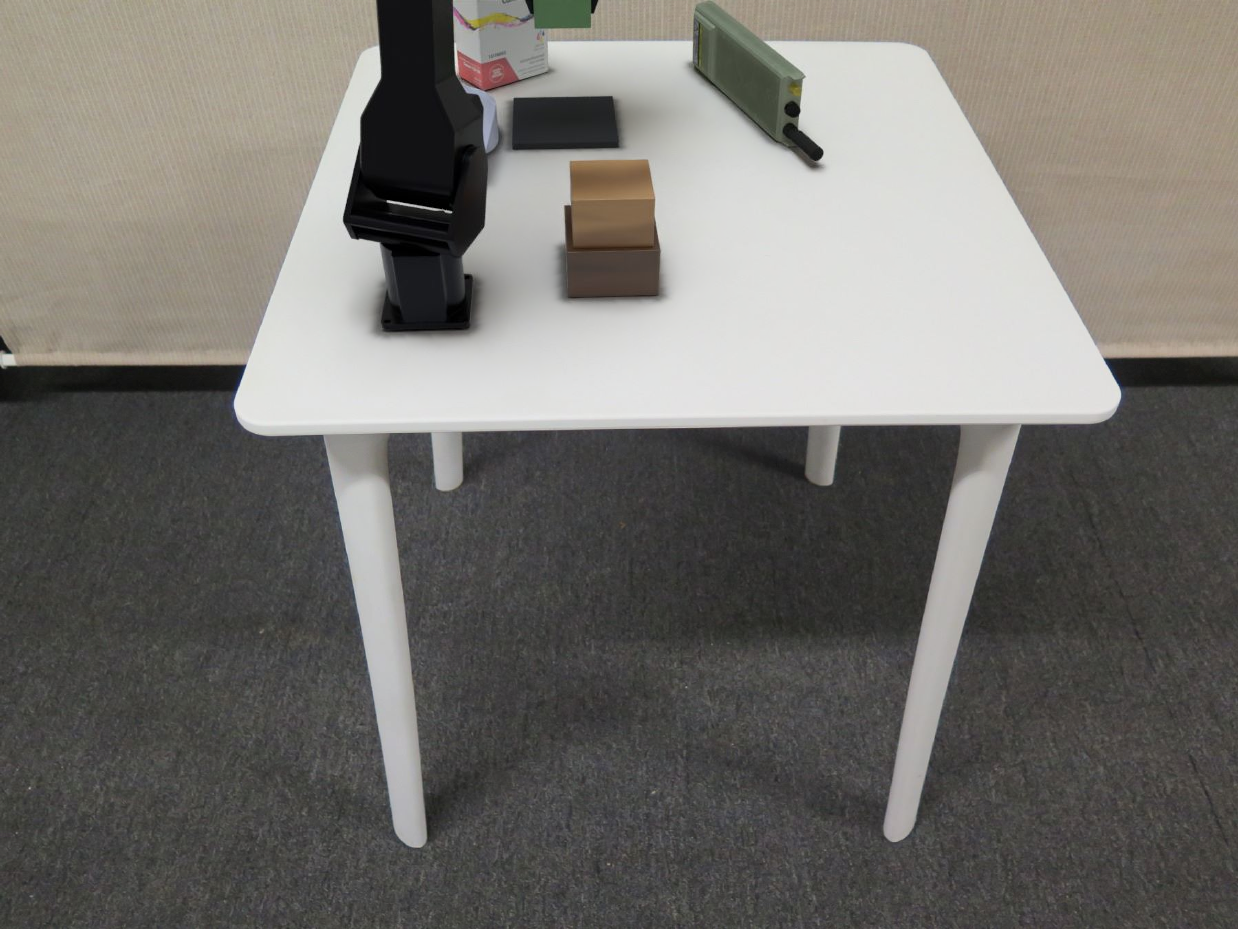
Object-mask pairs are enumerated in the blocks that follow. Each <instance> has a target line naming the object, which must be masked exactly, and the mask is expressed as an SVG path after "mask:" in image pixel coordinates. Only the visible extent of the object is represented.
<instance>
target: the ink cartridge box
mask: <svg viewBox="0 0 1238 929" xmlns="http://www.w3.org/2000/svg"><path fill="white" fill-rule="evenodd" d="M453 19H454V37H455V46H456V47H455V48H456V57H457V67H458V76H459V77H460V78H462V79H464V80H466V81H468V82H469V83H471V84H472V85H474V86H475V87H477V88H478V89H480V90H482V91H487V90H490V89H493V88H494V89H495V88H497V87H500V86H504V85H508V84H510V83H511V84H512V83H513V82H517V81H521V80H525V79H527V78H531V77H535V76H538V75H541V74H544V73H547V72H549V45H548V44H549V43H548V29H535V26H534V15H531V14H530V12H529V10H528V7H527V4H526V2H525V0H453Z"/></svg>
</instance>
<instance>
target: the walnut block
mask: <svg viewBox="0 0 1238 929" xmlns="http://www.w3.org/2000/svg"><path fill="white" fill-rule="evenodd" d="M563 206H564V207H563V211H564V212H563V214H564V243H565V244H564V246H565V263H566V264H565V268H566V269H565V271H566V289H567V297H568V298H592V297H598V298H599V297H632V296H633V297H635V296H658V295H659V293H660V292H659V291H660V273H661V271H660V270H661V246H660V239H659V234H658V228H657V223H656V222H657V221H656V218H655V219H654V244H653V247H613V248H573V239H572V221H571V204H565V205H563Z"/></svg>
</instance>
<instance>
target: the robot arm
mask: <svg viewBox="0 0 1238 929" xmlns="http://www.w3.org/2000/svg"><path fill="white" fill-rule="evenodd" d="M525 2H526V4H527V7H528V10H529V12H530V14H531V15H534V4H533V0H525ZM598 4H599V0H591V15H594V14H595V11H596V9H597V6H598ZM375 7H376V19H377V21H376V22H377V35H378V37H377V38H378V47H379V48H378V49H379V62H380V64H379V65H380V79H379V81H378V83H377V84H376V86H375V88H374V90H373V92H372V94H371V96H370V97H369V99H368V101H367V103H366V105H365V107H364V109H363V111H362V112H361V114H360V118H359V145H358V148H357V152H356V157H355V160H354V166H353V171H352V174H351V179H350V183H349V184H350V185H349V188H348V193H347V197H346V201H345V206H344V212H343V215H342V223H343V226H344V227H345V229H346V231H347V233H348V235H349V238H350V239H352V240H355V241H356V240H357V241H359V240H363V241H369V242H375V243H379V249H380V254H381V261H382V265H383V271H384V277H385V283H386V291H385V295H384V296H385V297H384V301H383V307H382V312H381V318H380V326H381V328H382V329H383V330H387V331H394V330H395V331H396V330H397V331H399V330H424V329H425V330H429V329H430V330H431V329H435V330H436V329H463V328H469V327H470V326H471V322H472V311H473V310H472V309H473V294H474V276H473V275H472V274H471V273H465V272H464V263H463V256H464V254H466V252H467V251H468V249H469V248H470V247H471V245H473V243H474V241H476V239H477V238H478V236H479V235H480V233H481V232H482V231H483V230H484V229H485V225H486V213H487V212H486V211H487V210H486V209H487V197H488V196H487V195H488V194H487V193H488V177H489V160H488V159H489V158H488V155H487V154H488V153H487V154H486V152H485V151H486V150H485V145H484V137H483V117H484V107H483V104H482V102H481V99H480V97H479V95H477V94H471V93H467V92H466V91H465V89H464V87H463V86H462V84H461V83H462V81H461V80H460V78H459V77H458V76H457V72H456V59H455V58H456V55H455V54H456V53H455V52H456V51H455V25H454V15H453V0H375ZM389 201H390V202H389ZM393 202H394V203H393ZM400 203H401V204H400ZM405 204H407V205H405ZM411 205H412V206H411ZM417 206H418V207H417ZM424 207H425V208H424Z"/></svg>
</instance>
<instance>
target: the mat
mask: <svg viewBox="0 0 1238 929" xmlns="http://www.w3.org/2000/svg"><path fill="white" fill-rule="evenodd" d="M512 103H513V104H512V137H511V138H512V140H511V143H512V145H511V146H512V150H532V149H533V150H538V149H539V150H540V149H541V150H542V149H543V150H544V149H591V148H592V149H593V148H594V149H595V148H619V147H620V140H619V132H618V125H617V118H616V117H617V116H616V110H615V102H614V96H613V95H596V96H595V95H593V96H591V95H589V96H588V95H586V96H533V97H532V96H529V97H527V96H526V97H513V102H512Z"/></svg>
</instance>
